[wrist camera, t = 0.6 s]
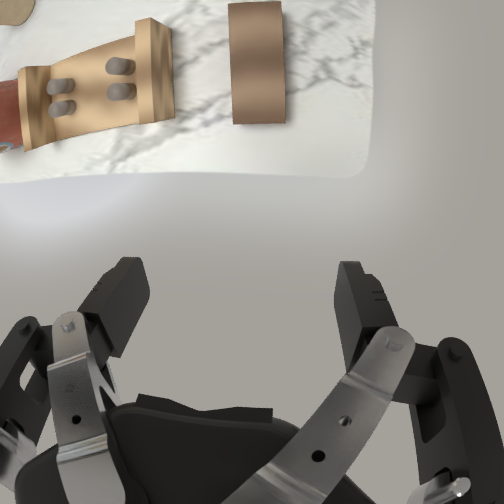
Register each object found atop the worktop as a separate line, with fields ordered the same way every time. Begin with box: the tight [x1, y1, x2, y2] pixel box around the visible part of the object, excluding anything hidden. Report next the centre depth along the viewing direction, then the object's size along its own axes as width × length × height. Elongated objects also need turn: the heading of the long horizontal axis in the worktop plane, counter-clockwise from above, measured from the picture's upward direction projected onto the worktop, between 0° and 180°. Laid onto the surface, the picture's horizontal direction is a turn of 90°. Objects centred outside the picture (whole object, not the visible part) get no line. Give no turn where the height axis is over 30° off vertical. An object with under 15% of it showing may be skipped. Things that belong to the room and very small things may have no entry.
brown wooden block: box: [228, 1, 286, 124], centre depth 24 cm, size 13×5×4 cm, turn 2°
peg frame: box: [18, 17, 175, 152], centre depth 25 cm, size 11×19×6 cm, turn 91°
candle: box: [0, 0, 35, 26], centre depth 15 cm, size 6×6×10 cm
